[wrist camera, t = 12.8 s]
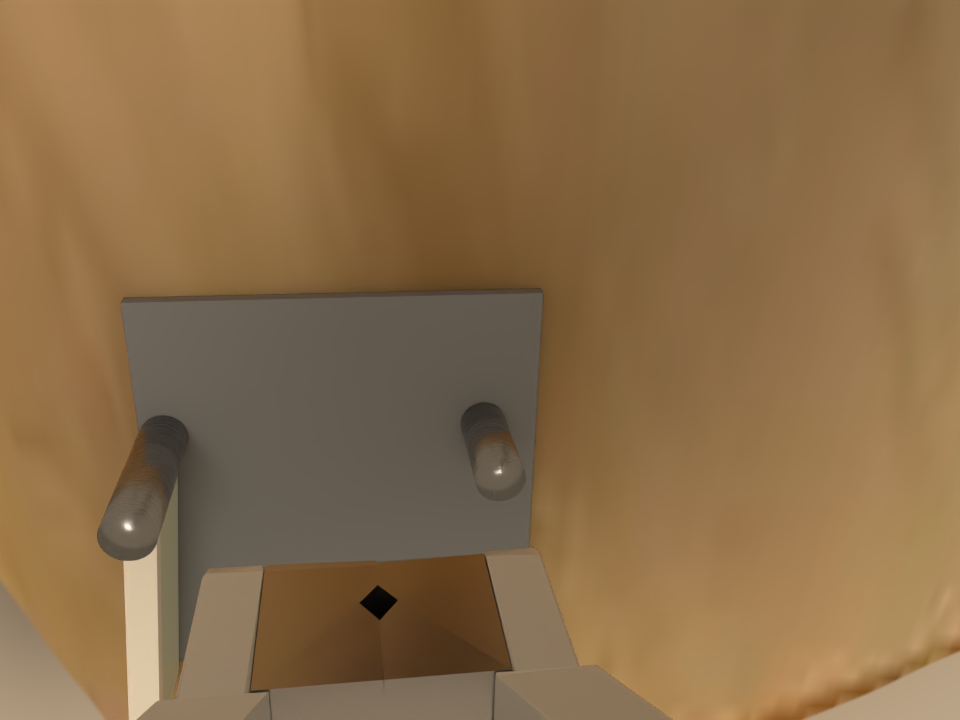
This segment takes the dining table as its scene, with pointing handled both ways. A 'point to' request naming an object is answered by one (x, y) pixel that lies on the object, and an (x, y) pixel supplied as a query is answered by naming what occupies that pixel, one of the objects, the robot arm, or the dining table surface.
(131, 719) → the cream plank
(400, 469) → the yard mat
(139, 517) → the posts
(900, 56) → the dining table surface
